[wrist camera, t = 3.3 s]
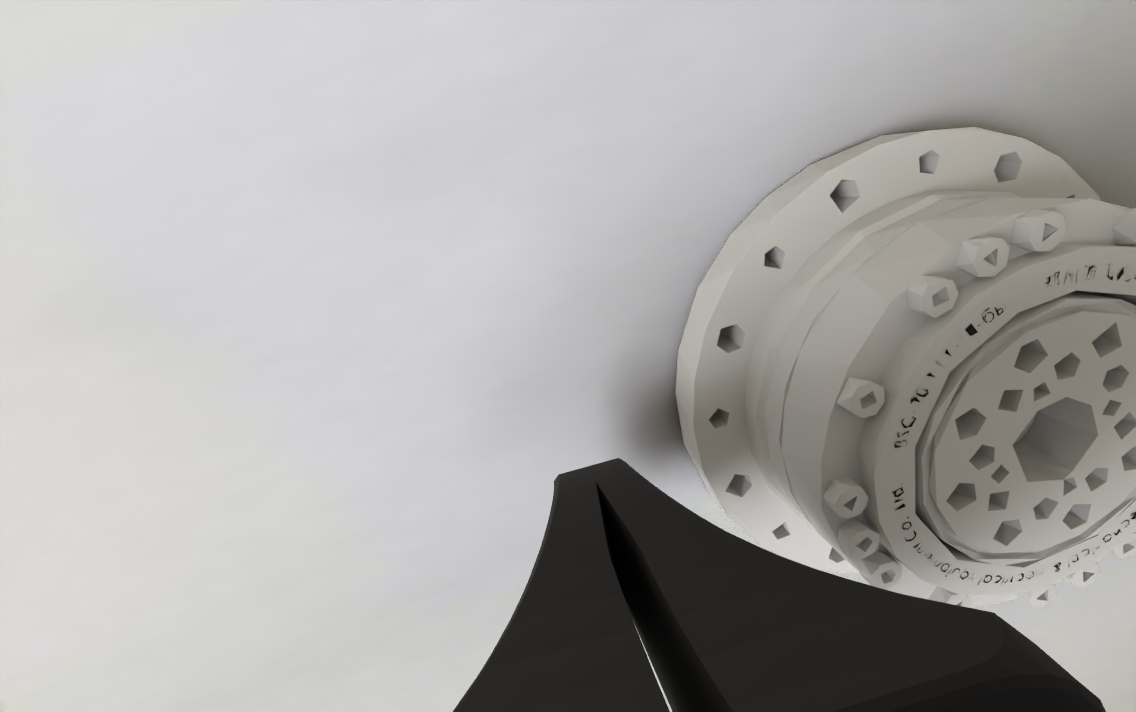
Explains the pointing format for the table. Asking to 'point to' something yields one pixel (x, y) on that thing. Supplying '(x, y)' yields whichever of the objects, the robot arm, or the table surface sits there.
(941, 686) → the robot arm
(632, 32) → the table surface
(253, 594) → the table surface
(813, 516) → the mechanical component
